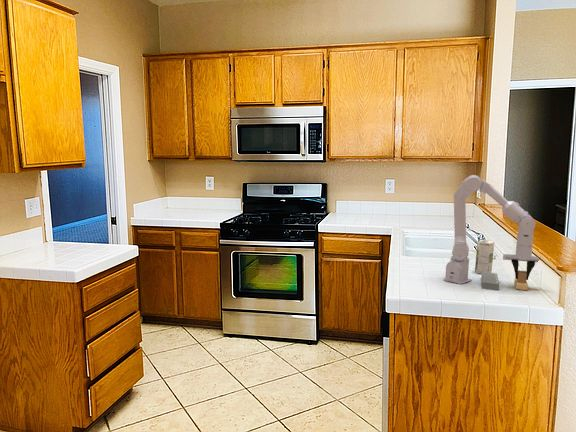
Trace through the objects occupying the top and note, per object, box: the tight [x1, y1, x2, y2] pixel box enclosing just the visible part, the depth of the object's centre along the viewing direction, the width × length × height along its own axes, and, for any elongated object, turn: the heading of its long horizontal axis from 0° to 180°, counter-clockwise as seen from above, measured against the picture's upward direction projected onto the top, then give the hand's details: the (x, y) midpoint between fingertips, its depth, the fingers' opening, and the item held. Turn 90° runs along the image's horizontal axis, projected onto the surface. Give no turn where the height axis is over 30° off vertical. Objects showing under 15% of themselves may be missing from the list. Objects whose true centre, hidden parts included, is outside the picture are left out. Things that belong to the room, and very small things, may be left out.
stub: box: [513, 269, 529, 291], centre depth 187 cm, size 4×10×6 cm, turn 158°
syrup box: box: [474, 239, 495, 275], centre depth 209 cm, size 6×6×14 cm
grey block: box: [481, 272, 500, 291], centre depth 192 cm, size 6×18×3 cm, turn 158°
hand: (521, 278), depth 187 cm, fingers closed on stub, 3 cm apart
